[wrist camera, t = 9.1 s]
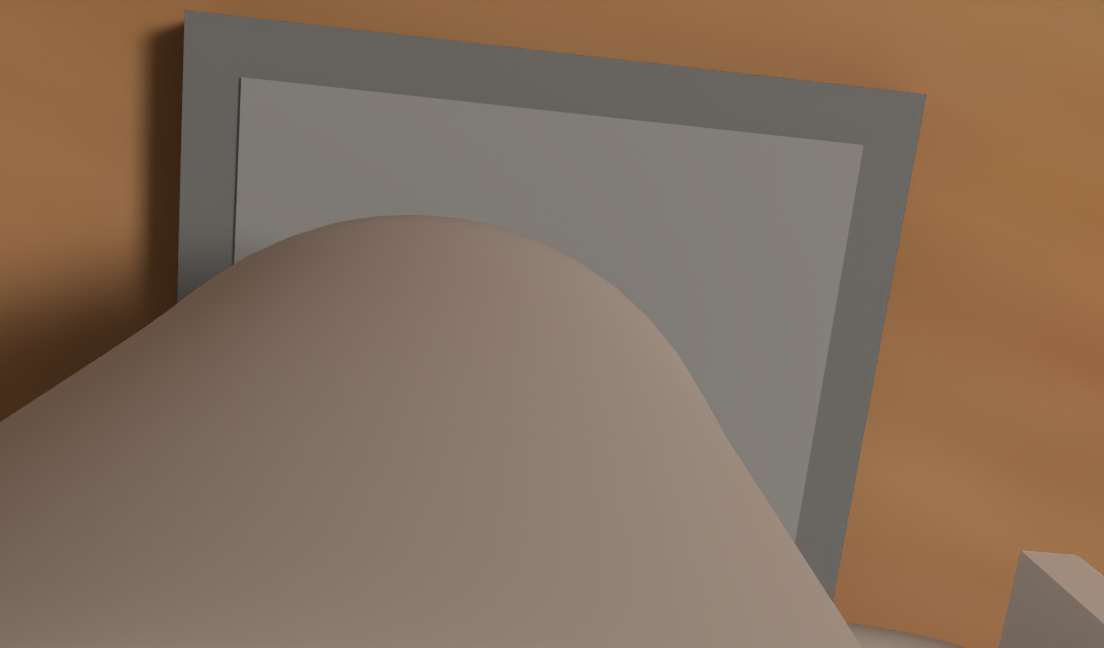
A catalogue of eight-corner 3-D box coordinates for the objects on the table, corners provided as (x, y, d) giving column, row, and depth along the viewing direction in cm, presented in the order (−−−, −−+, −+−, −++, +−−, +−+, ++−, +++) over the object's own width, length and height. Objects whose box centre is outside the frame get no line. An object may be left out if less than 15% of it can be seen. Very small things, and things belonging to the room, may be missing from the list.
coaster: (183, 702, 21) (164, 739, 20) (204, 15, 18) (182, 10, 17) (784, 741, 22) (801, 779, 21) (900, 93, 19) (927, 94, 18)
